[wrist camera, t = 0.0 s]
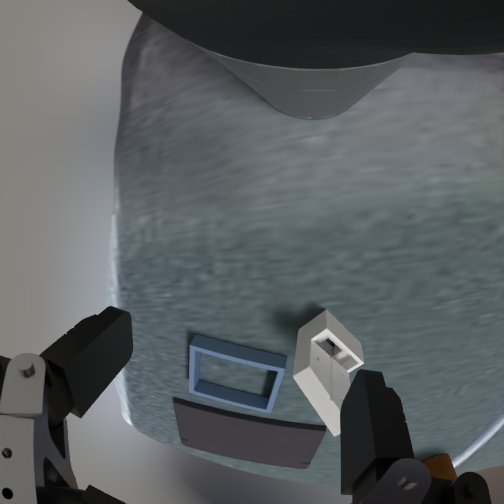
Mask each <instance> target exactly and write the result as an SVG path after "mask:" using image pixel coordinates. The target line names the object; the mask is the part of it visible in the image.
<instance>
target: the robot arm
mask: <svg viewBox="0 0 504 504" xmlns="http://www.w3.org/2000/svg"><path fill="white" fill-rule="evenodd" d="M128 1H129V2H130V3H132V4H133V5H134V6H135V7H136V8H138V9H139V10H141V11H142V12H144V13H145V14H147V15H148V16H150V17H151V18H153V19H154V20H156V21H157V22H159V23H160V24H162V25H164V26H165V27H167V28H168V29H170V30H172V31H173V32H175V33H176V34H178V35H179V36H181V37H183V38H184V39H186V40H187V41H189V42H190V43H192V44H193V45H195V46H196V47H197V48H199V49H200V50H202V51H203V52H205V53H206V54H207V55H209V56H210V57H212V58H213V59H214V60H216V61H217V62H218V63H220V64H221V65H223V66H224V67H225V68H227V69H228V70H229V71H231V72H232V73H233V74H235V75H236V76H237V77H238V78H240V79H241V80H242V81H243V82H245V83H246V84H247V85H248V86H250V87H251V88H252V89H253V90H254V91H256V92H257V93H258V94H259V95H260V96H262V97H263V98H264V99H265V100H266V101H267V102H269V103H270V104H271V105H272V106H273V107H274V108H276V109H278V110H279V111H281V112H283V113H285V114H287V115H289V116H293V117H296V118H300V119H308V120H319V119H327V118H330V117H333V116H337V115H339V114H340V113H342V112H344V111H346V110H348V109H349V108H350V107H351V106H352V105H354V104H355V103H356V102H358V101H359V100H360V99H361V98H363V97H364V96H365V95H366V94H368V93H369V92H370V91H371V90H372V89H374V88H375V87H376V86H377V85H379V84H380V83H381V82H382V81H384V80H385V79H386V78H387V77H389V76H390V75H391V74H393V73H394V72H395V71H396V70H398V69H399V68H400V67H402V66H403V65H404V64H405V63H406V62H407V61H409V60H410V59H411V58H413V57H414V56H415V55H416V54H418V53H427V54H446V55H475V54H491V53H501V52H504V0H128ZM132 352H133V338H132V323H131V315H130V313H129V312H127V311H124V310H121V309H118V308H116V307H113V306H109V307H107V308H106V309H105V310H104V311H102V312H101V313H100V314H99V315H96V314H95V315H93V316H90V317H87V318H85V319H83V320H81V321H80V322H79V323H78V324H76V325H75V326H74V328H72V329H70V330H69V331H68V332H67V334H64V335H63V336H62V337H60V338H59V339H58V340H57V341H56V342H54V343H53V344H52V345H51V346H50V347H48V348H47V349H46V350H45V351H44V352H42V353H41V354H40V355H39V356H38V355H36V354H32V353H24V354H20V355H18V356H16V357H14V358H13V359H10V358H6V357H3V356H0V504H126V503H125V502H122V501H120V500H118V499H116V498H114V497H112V496H110V495H108V494H106V493H104V492H102V491H101V490H98V489H97V488H95V487H93V486H91V485H89V486H88V487H87V489H86V490H81V489H78V486H77V482H76V478H75V476H74V474H73V471H72V468H71V463H70V454H69V444H68V430H67V420H66V416H67V415H68V414H69V413H70V412H71V413H72V414H74V415H76V416H77V417H79V418H82V417H83V415H84V414H85V413H86V412H87V410H88V409H89V408H90V407H91V405H92V404H93V403H94V402H95V401H96V400H97V398H98V397H99V396H100V394H101V393H102V392H103V391H104V390H105V389H106V387H107V386H108V385H109V384H110V383H111V382H112V380H113V379H114V378H115V377H116V376H117V374H118V373H119V372H120V371H121V370H122V368H123V367H124V366H125V365H126V364H127V363H128V361H129V360H130V358H131V355H132ZM405 421H406V419H405V415H404V413H403V407H402V403H401V400H400V398H399V396H398V395H397V394H396V392H395V391H394V390H393V388H388V387H386V385H385V381H384V377H383V374H382V372H378V371H371V370H363V369H360V370H359V371H358V372H357V374H356V376H355V378H354V380H353V382H352V384H351V386H350V388H349V390H348V392H347V394H346V396H345V398H344V400H343V403H342V406H341V410H340V435H341V494H342V495H343V494H344V495H353V496H352V497H353V499H352V501H353V502H352V503H351V504H491V499H490V494H489V490H488V486H487V483H486V481H485V480H484V478H483V477H482V476H480V475H479V474H477V473H474V472H466V473H463V474H461V475H460V476H459V477H458V478H457V479H455V480H454V481H452V480H446V479H441V478H437V477H433V476H431V474H430V472H429V470H428V468H427V467H426V466H425V465H424V464H423V463H422V462H420V461H418V460H415V458H414V453H413V448H412V444H411V440H410V435H409V431H408V427H407V423H405Z"/></svg>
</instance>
